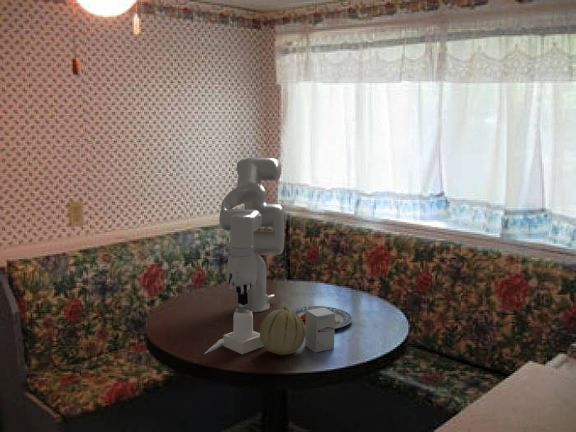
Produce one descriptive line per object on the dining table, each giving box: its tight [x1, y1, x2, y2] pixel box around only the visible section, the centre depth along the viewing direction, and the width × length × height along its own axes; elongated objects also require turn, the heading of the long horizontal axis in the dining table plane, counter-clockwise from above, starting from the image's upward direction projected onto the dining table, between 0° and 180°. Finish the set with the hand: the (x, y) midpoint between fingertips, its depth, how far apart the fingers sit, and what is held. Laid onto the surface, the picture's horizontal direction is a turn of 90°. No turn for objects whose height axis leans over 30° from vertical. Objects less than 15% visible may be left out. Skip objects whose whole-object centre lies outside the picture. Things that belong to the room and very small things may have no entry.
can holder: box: [222, 330, 264, 355], centre depth 194 cm, size 10×10×4 cm
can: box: [232, 307, 254, 341], centre depth 193 cm, size 6×6×12 cm
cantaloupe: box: [259, 306, 305, 356], centre depth 187 cm, size 15×15×15 cm
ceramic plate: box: [289, 305, 353, 330], centre depth 217 cm, size 26×26×3 cm
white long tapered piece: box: [203, 338, 224, 355], centre depth 193 cm, size 15×3×2 cm, turn 151°
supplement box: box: [304, 308, 335, 354], centre depth 192 cm, size 7×7×13 cm
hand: (242, 303), depth 194 cm, fingers closed
